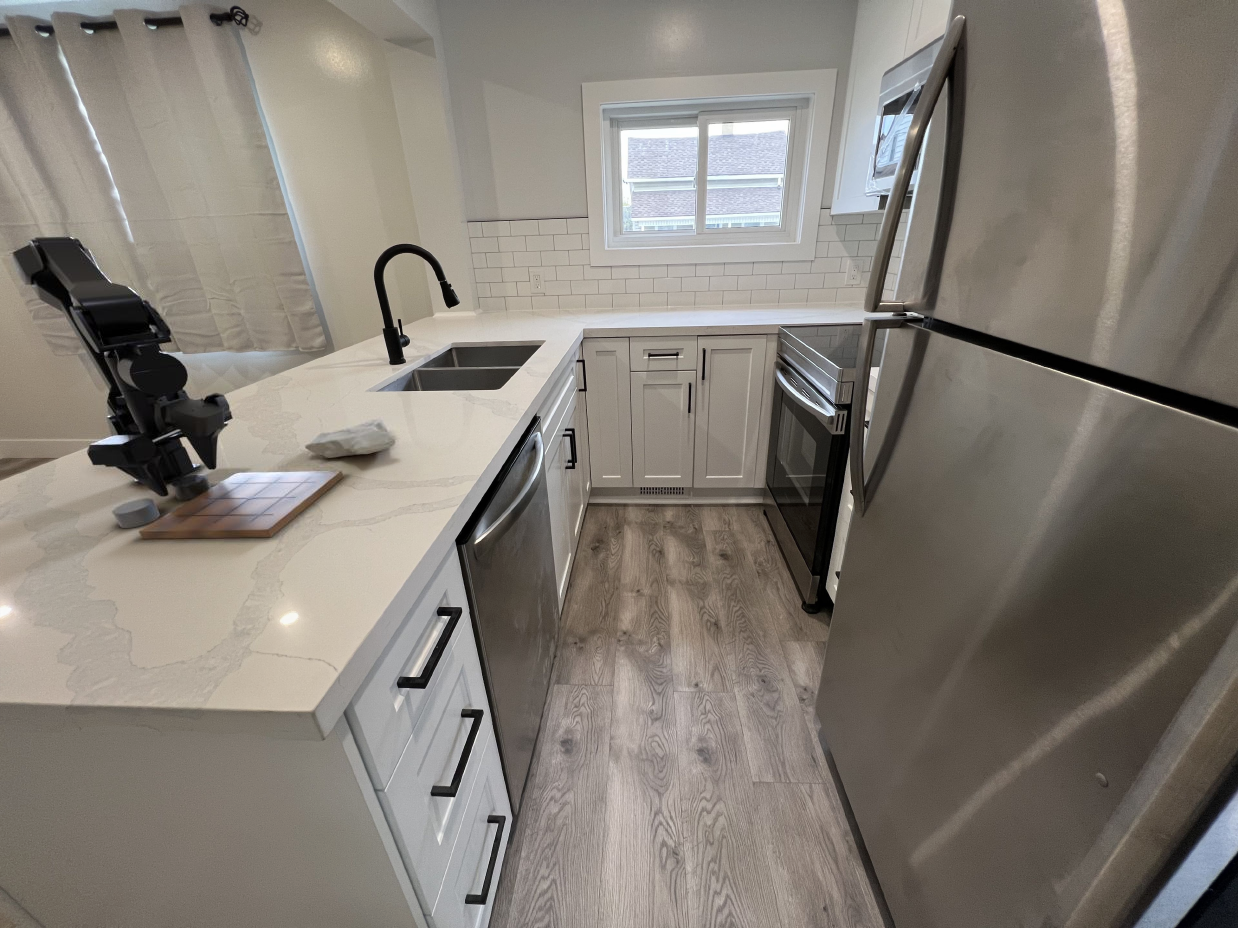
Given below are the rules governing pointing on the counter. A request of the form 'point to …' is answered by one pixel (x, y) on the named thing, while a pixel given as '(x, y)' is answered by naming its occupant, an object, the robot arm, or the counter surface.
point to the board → (244, 506)
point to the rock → (353, 440)
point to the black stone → (191, 486)
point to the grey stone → (136, 513)
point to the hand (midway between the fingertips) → (189, 481)
